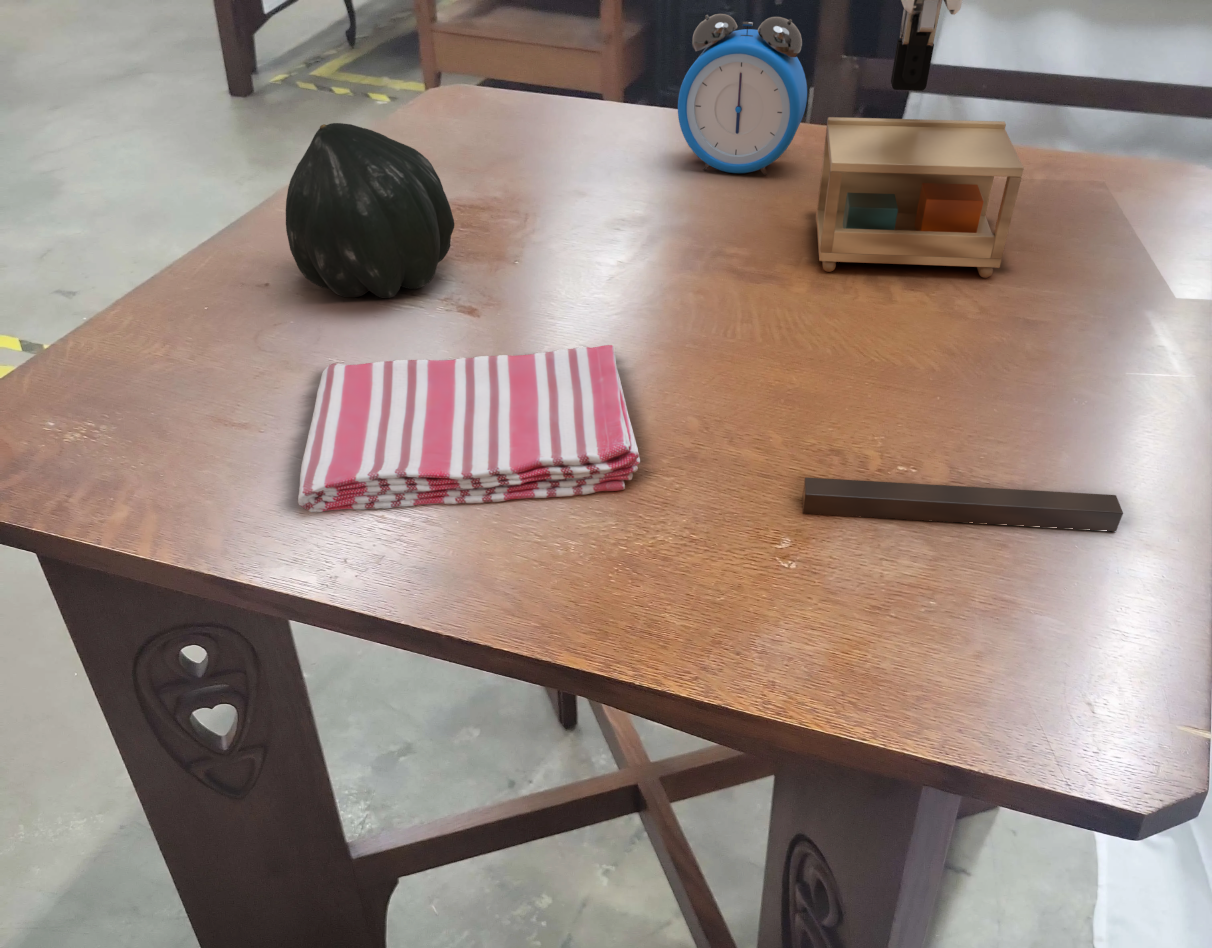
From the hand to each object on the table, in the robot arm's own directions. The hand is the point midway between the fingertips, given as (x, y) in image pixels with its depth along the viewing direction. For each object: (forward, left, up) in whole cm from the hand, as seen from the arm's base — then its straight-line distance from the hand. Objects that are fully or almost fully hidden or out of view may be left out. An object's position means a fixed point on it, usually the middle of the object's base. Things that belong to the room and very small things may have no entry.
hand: (907, 87), depth 102 cm
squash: (+48, +22, -12) cm, 54 cm away
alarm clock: (+16, -10, -12) cm, 22 cm away
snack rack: (0, +12, -11) cm, 17 cm away
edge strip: (0, +53, -11) cm, 54 cm away
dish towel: (+34, +47, -12) cm, 59 cm away
